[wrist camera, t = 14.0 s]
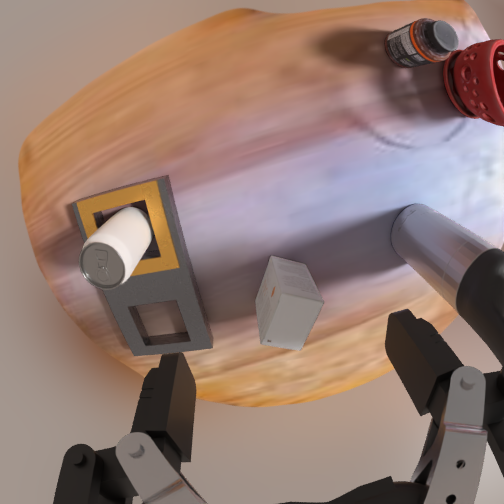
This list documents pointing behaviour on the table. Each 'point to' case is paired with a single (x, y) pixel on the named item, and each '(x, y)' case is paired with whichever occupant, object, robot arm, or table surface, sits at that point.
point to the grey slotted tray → (152, 270)
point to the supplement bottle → (421, 43)
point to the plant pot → (477, 81)
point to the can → (116, 248)
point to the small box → (287, 304)
